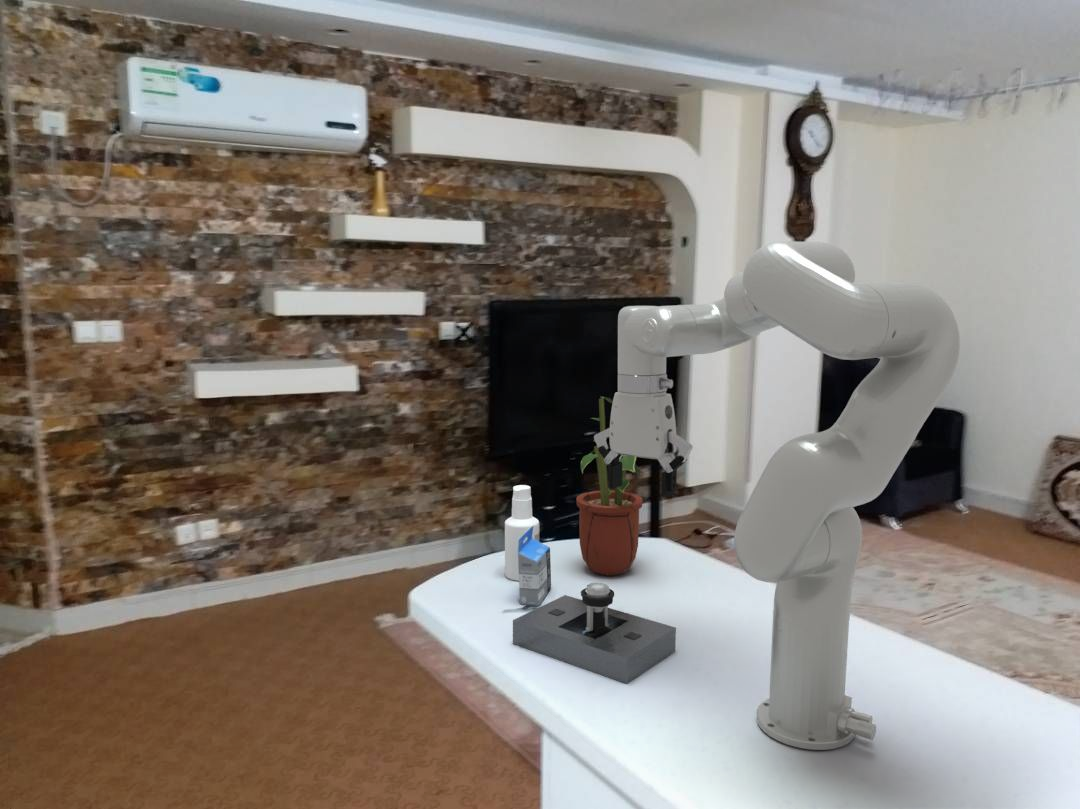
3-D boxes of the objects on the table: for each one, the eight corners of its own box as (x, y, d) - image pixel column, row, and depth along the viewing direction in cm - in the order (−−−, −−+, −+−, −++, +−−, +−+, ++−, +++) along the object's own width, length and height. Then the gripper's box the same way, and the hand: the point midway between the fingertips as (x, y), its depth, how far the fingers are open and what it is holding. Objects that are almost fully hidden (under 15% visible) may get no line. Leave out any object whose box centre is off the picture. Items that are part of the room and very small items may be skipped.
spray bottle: (546, 575, 173) (546, 486, 170) (522, 584, 168) (522, 493, 165) (521, 567, 177) (521, 481, 174) (497, 575, 172) (497, 487, 169)
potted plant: (562, 569, 176) (563, 398, 170) (614, 552, 186) (616, 390, 181) (627, 593, 163) (630, 408, 158) (679, 573, 174) (684, 399, 168)
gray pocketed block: (675, 651, 139) (675, 626, 138) (626, 683, 128) (627, 657, 127) (565, 616, 152) (565, 594, 152) (512, 643, 142) (512, 619, 141)
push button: (586, 657, 136) (586, 596, 135) (567, 645, 141) (567, 586, 139) (620, 648, 140) (621, 588, 138) (600, 636, 144) (601, 578, 143)
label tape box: (539, 606, 157) (539, 541, 155) (517, 604, 158) (517, 539, 156) (551, 589, 165) (552, 527, 163) (531, 587, 166) (531, 525, 164)
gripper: (702, 386, 135) (701, 494, 137) (608, 379, 145) (608, 480, 147) (679, 391, 129) (678, 504, 131) (582, 383, 139) (583, 488, 141)
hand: (641, 491), depth 139 cm, fingers open, 9 cm apart
